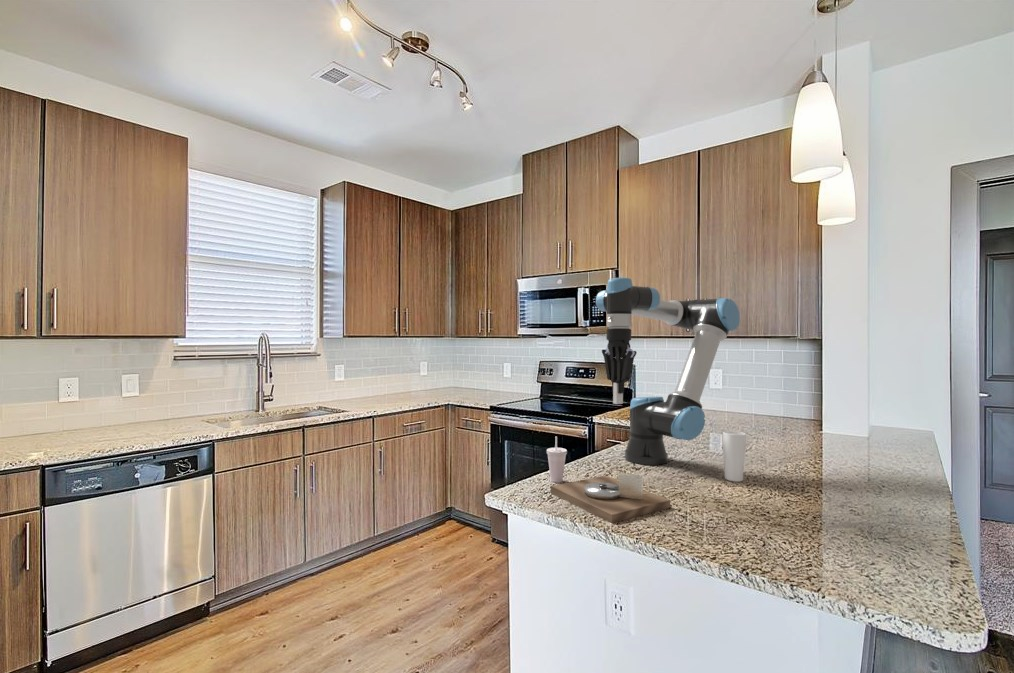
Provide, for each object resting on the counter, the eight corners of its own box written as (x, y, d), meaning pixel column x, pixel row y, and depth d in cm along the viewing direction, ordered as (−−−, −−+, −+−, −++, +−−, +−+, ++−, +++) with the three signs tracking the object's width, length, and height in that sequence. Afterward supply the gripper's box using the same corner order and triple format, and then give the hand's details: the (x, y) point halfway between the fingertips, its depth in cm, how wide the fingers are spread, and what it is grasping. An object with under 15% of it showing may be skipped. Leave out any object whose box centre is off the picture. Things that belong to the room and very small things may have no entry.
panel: (605, 481, 149) (605, 475, 149) (670, 507, 128) (670, 499, 128) (550, 493, 138) (550, 485, 138) (611, 523, 117) (611, 514, 117)
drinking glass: (740, 477, 156) (741, 431, 156) (749, 483, 149) (749, 435, 149) (719, 476, 156) (719, 430, 156) (726, 482, 150) (727, 434, 150)
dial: (644, 493, 132) (644, 471, 132) (639, 505, 123) (639, 481, 123) (589, 485, 139) (589, 464, 139) (580, 496, 129) (580, 474, 129)
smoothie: (543, 481, 149) (543, 436, 149) (550, 476, 154) (551, 433, 154) (562, 485, 146) (562, 439, 146) (569, 479, 151) (570, 435, 151)
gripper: (595, 327, 153) (594, 401, 153) (625, 327, 142) (624, 407, 142) (613, 328, 157) (612, 400, 157) (643, 328, 146) (642, 405, 146)
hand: (617, 403), depth 150 cm, fingers closed
